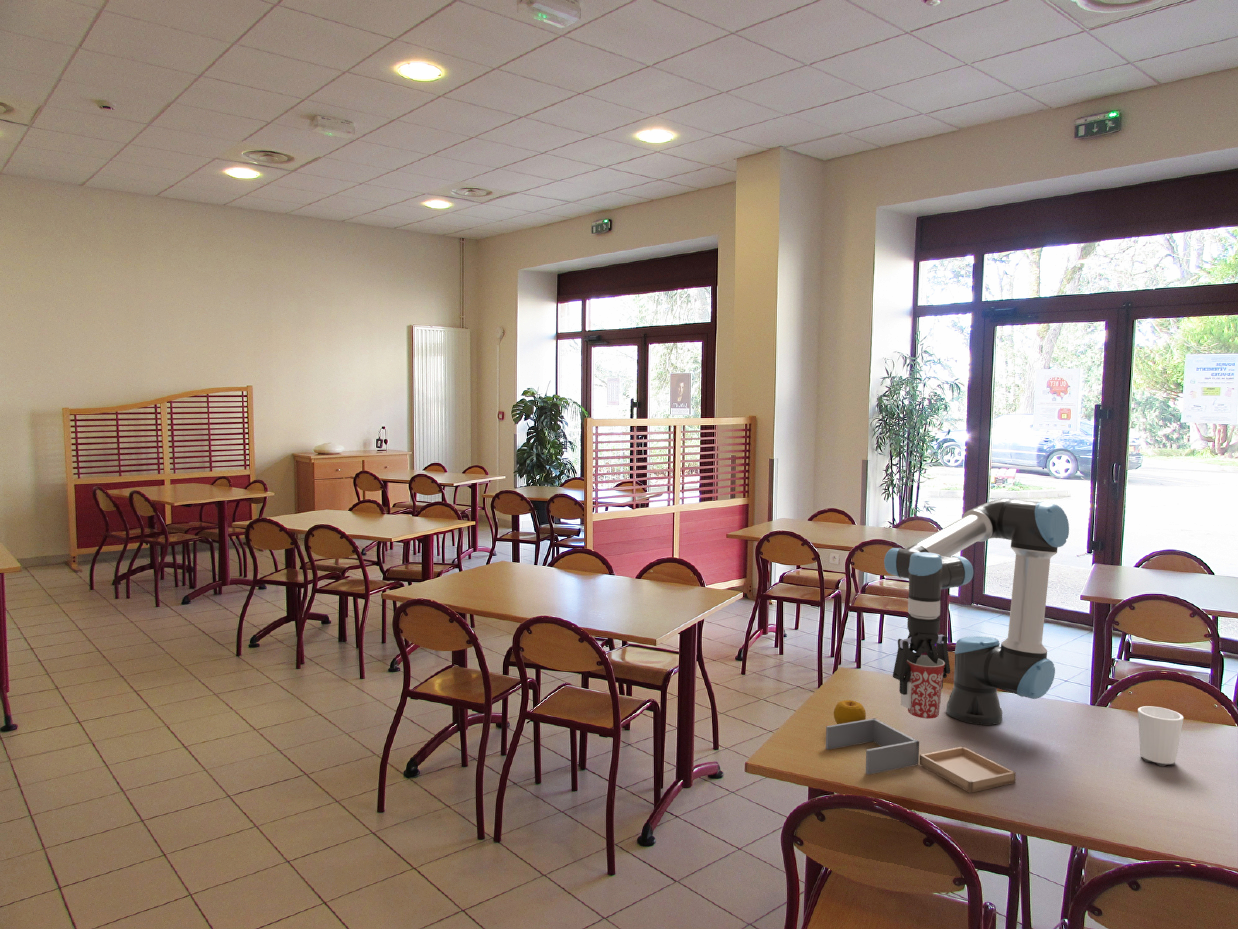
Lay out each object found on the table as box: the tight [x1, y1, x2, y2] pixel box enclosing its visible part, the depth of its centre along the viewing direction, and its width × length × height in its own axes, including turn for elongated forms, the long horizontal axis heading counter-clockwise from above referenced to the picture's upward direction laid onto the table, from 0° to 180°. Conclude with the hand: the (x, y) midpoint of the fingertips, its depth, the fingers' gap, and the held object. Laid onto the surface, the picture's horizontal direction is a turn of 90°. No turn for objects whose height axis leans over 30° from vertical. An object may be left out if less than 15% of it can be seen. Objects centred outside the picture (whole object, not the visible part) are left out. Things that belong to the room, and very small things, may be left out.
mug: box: [907, 654, 945, 720], centre depth 204 cm, size 13×9×14 cm
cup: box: [1137, 705, 1184, 767], centre depth 209 cm, size 10×10×13 cm
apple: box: [833, 699, 867, 725], centre depth 225 cm, size 8×8×9 cm
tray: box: [918, 746, 1017, 794], centre depth 201 cm, size 14×16×2 cm
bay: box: [825, 717, 920, 776], centre depth 210 cm, size 16×17×6 cm
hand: (920, 704), depth 204 cm, fingers closed on mug, 9 cm apart
